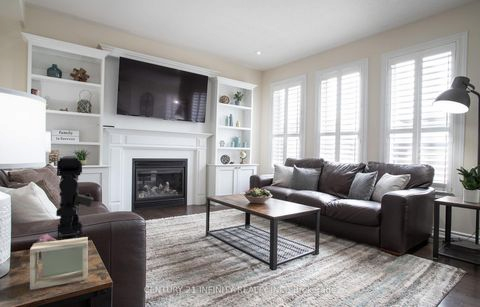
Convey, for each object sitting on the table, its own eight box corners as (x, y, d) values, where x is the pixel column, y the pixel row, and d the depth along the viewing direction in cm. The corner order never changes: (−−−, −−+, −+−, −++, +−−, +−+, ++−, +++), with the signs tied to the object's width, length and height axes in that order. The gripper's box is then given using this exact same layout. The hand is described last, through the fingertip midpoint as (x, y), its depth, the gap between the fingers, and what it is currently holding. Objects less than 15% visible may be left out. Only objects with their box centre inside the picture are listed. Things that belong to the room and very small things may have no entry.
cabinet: (34, 281, 90) (33, 243, 90) (87, 272, 97) (87, 236, 97) (30, 289, 85) (29, 249, 85) (86, 279, 92) (86, 242, 92)
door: (42, 275, 94) (42, 246, 93) (82, 267, 100) (83, 241, 100) (41, 278, 91) (41, 249, 91) (82, 270, 97) (83, 243, 97)
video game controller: (48, 247, 124) (40, 235, 122) (58, 242, 125) (50, 229, 124) (41, 256, 114) (32, 242, 113) (53, 250, 116) (44, 236, 115)
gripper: (91, 191, 102) (91, 232, 102) (92, 184, 118) (92, 220, 119) (56, 193, 96) (56, 236, 97) (62, 186, 113) (62, 223, 113)
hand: (69, 228), depth 107 cm, fingers closed
